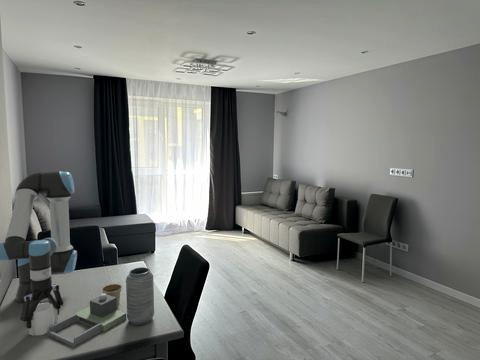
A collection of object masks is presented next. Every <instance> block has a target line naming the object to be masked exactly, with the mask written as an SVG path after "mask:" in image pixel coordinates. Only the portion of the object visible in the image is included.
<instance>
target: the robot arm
mask: <svg viewBox="0 0 480 360" xmlns="http://www.w3.org/2000/svg"><path fill="white" fill-rule="evenodd" d="M74 193H75V182H74V178H73V176H72V173H71V172H69V171H61V170H60V171H36V172H32V173H30V174H28V175H27V176H26V177H24V178H23V179H22V180H20V182H19V184H18V185H17V187H16V188H15V193H14V195H15V202H14V206H13V210H12V212H11V217H10V221H9V224H8V228H7V232H6V234H5V235H6V236H5V240H4V242H0V261H14V260H17V272H18V286H17V290H16V293H15V300H16V302H19V303H23V304H22V308H21V315H20V321H22V322H24V323H25V324H26V325H25V326H26V328H27V329H28V334H29V335H30V336H32V337H33V336H36V335H35V332H34V320H33V319H32V317H33V315H34V313H33V312H35V310H36V308H37V305H38V304H39V303H40V302H41V301H43V300H45V299H46V300H48V303H52V304H53V319H54V324H56V323H58V322H59V317H58V316H59V315H60V309H61V306H64V301H63V298H62V295H61V292H60V285H59V284H53V285H52V283H53V281H52V276H53V275H65V274H70V273H73V272H74V270H75V269H76V265H77V259H78V250H75V249H74V246H73V245H71V241H70V240H71V238H70V234H71V233H70V213H69V212H70V211H69V210H70V208H69V207H70V206H69V200H70V199H71V198H72V195H74ZM39 195H45V199H47V200H48V201H49V216H50V217H49V218H50V219H49V220H50V237H45V238H42V239H39V240H30V241H29V240H27V241H26V239H27V235H28V231H29V227H30V222H31V217H32V213H33V208H34V204H35V201H36V200H37V199H38V198H39ZM52 291H53V295H54V297H53V295H52V293H51V292H52Z"/></svg>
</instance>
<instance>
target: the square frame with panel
mask: <svg viewBox="0 0 480 360" xmlns="http://www.w3.org/2000/svg"><path fill="white" fill-rule="evenodd" d="M126 319H127V312H123V311H121V310H118V306H117V299H116V297H113V296H110V295H107V294H105V293H103V292H102V293H100V294H99V296H97V297H95V298H93V299H91V300H89V306H88V307H86V308H84V309H81V310H79V311H77V312H75V313H73V315H71V316H69V317H66V318H65V319H63V320H61V321H58V323H56V324H54V325H52V326H50V327H49V331H47V333H46V335H47V336H49V337H51V338H53V339H55V340H58V341H60V342H62V343H64V344H66V345H69V346H71V347H76V346H78V345H79V344H81V343H83V342H84V341H86V340H88V339H89V338H92V337H93V336H95V335H96V334H98V333H100V332H101V331H102V332H105V331H107V330H109V329H111V328H113V327H114V326H116V325H118V324H119V323H121V322H123V321H124V320H126ZM76 322H80V323H82V324H85V325H87V326H90V328H88V329H87V330H84V331H83V332H81V333H80V334H78V335H76V336H74V337H73V339H70V338H69V337H68V338H67V337H66V336H63V335H61V334H59V333H58V332H59V331H61V330H62V329H64V328H66V327H68V326H70V325H72V324H74V323H76ZM56 332H57V333H56Z"/></svg>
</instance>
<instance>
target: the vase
mask: <svg viewBox="0 0 480 360" xmlns="http://www.w3.org/2000/svg"><path fill="white" fill-rule="evenodd" d="M150 270H151V269H149V267H146V266H145V267H135V268H133V269H130V270H129V272H128V274H127V276H126V277H125V287H126V289H125V290H126V293H125V294H126V319H127V320H128V321H129V322H130V323H131V324H132V325H134V326H142V325H147V324H149V322H150V321H151V320H152V319H153V317H154V316H155V295H154V294H155V293H154V291H155V290H154V289H155V288H154V287H155V286H154V275H153V273H152V272H151V271H150Z"/></svg>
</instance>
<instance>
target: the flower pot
mask: <svg viewBox="0 0 480 360" xmlns="http://www.w3.org/2000/svg"><path fill="white" fill-rule="evenodd" d="M122 288H123V285H122V284H119V283H113V284H111V283H110V284H107V285H104V287H102V288H101V292H102V294H103V293H105V294H107V295H110V296H113V297H116V299H117V307H118V306H119V304H120V301H121V292H122Z"/></svg>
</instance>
